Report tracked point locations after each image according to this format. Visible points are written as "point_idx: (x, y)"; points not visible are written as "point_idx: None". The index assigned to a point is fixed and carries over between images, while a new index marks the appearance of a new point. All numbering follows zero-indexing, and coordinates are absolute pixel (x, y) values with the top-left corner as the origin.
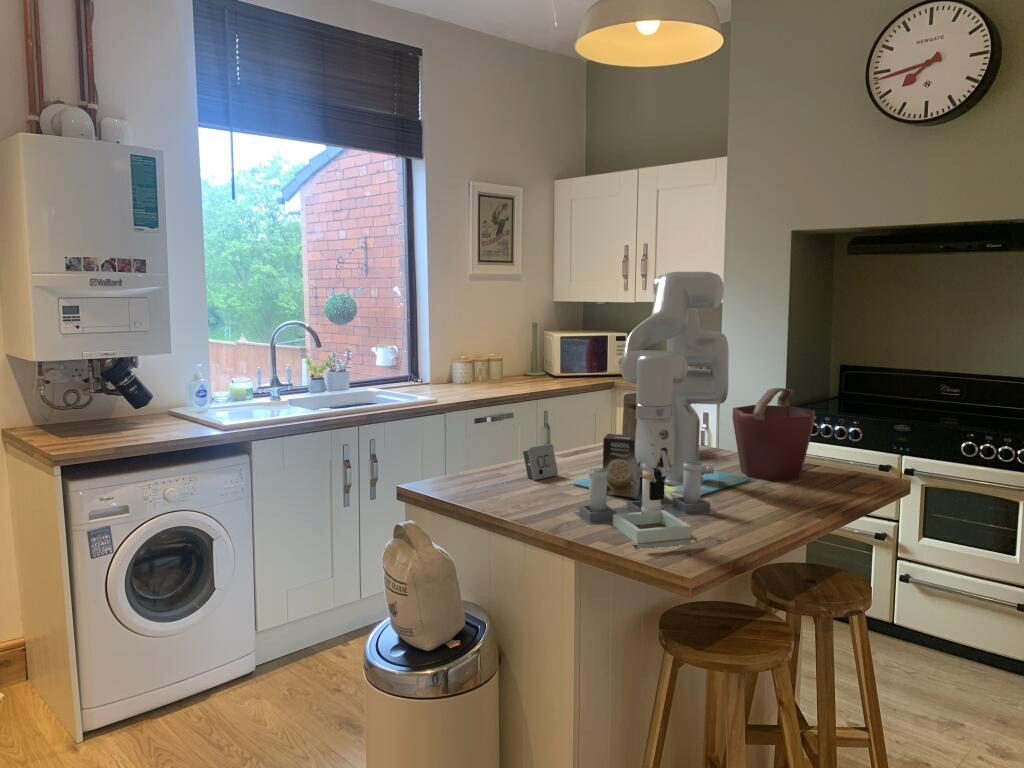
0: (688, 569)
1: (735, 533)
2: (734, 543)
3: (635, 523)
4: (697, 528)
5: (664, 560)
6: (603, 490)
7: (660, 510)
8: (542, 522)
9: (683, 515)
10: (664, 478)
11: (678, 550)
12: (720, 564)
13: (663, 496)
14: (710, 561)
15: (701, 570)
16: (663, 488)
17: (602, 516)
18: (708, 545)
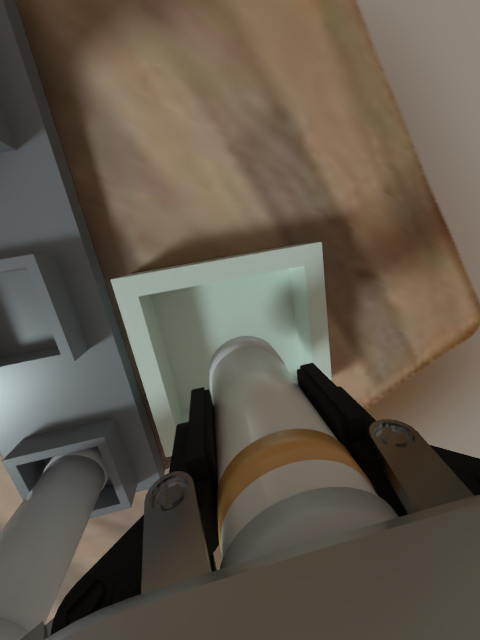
0: (441, 307)
1: (210, 24)
2: (308, 92)
3: (170, 376)
4: (145, 156)
5: (382, 343)
6: (60, 548)
7: (271, 347)
8: (88, 560)
9: (49, 172)
10: (451, 455)
11: (331, 292)
12: (439, 221)
13: (316, 369)
14: (416, 238)
15: (455, 281)
16: (337, 392)
17: (122, 464)
18: (310, 192)
